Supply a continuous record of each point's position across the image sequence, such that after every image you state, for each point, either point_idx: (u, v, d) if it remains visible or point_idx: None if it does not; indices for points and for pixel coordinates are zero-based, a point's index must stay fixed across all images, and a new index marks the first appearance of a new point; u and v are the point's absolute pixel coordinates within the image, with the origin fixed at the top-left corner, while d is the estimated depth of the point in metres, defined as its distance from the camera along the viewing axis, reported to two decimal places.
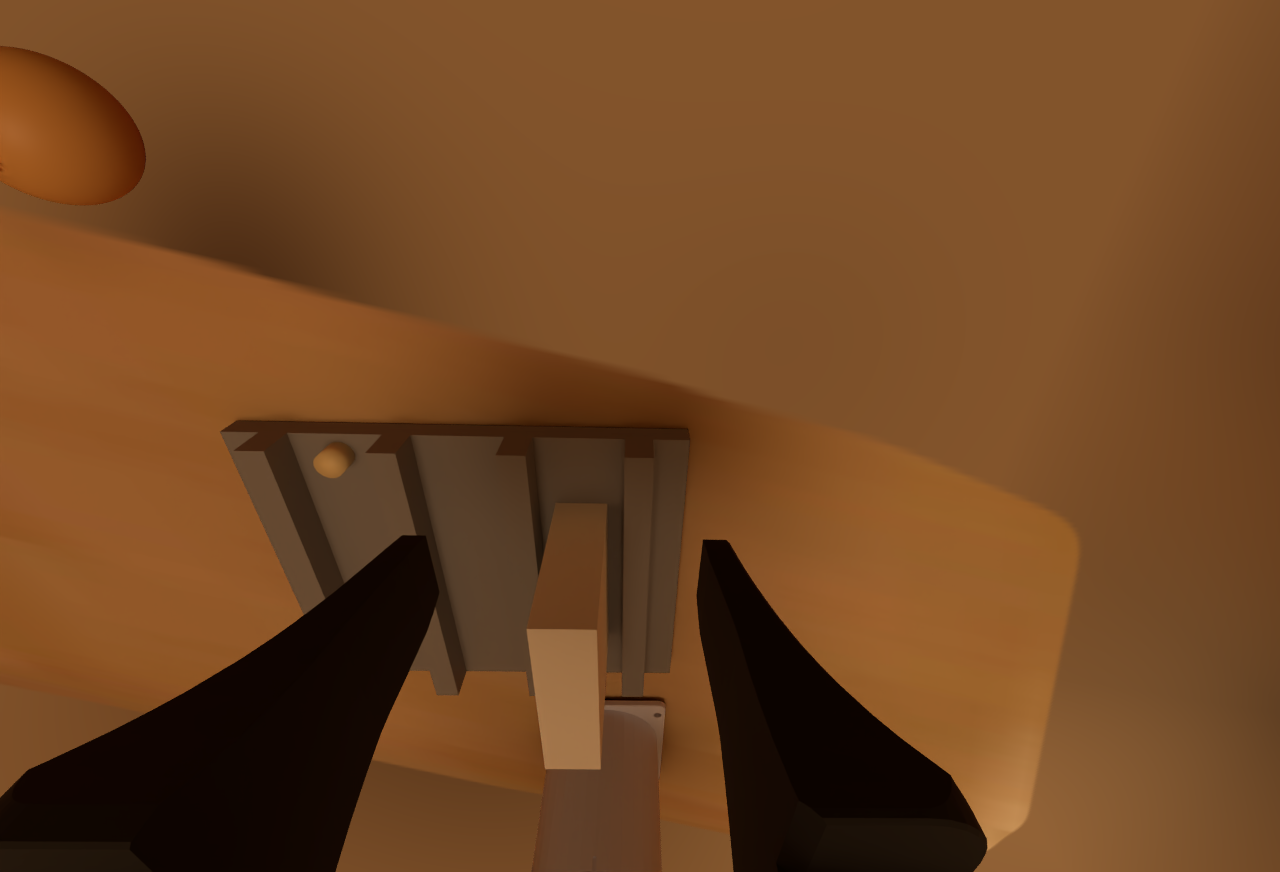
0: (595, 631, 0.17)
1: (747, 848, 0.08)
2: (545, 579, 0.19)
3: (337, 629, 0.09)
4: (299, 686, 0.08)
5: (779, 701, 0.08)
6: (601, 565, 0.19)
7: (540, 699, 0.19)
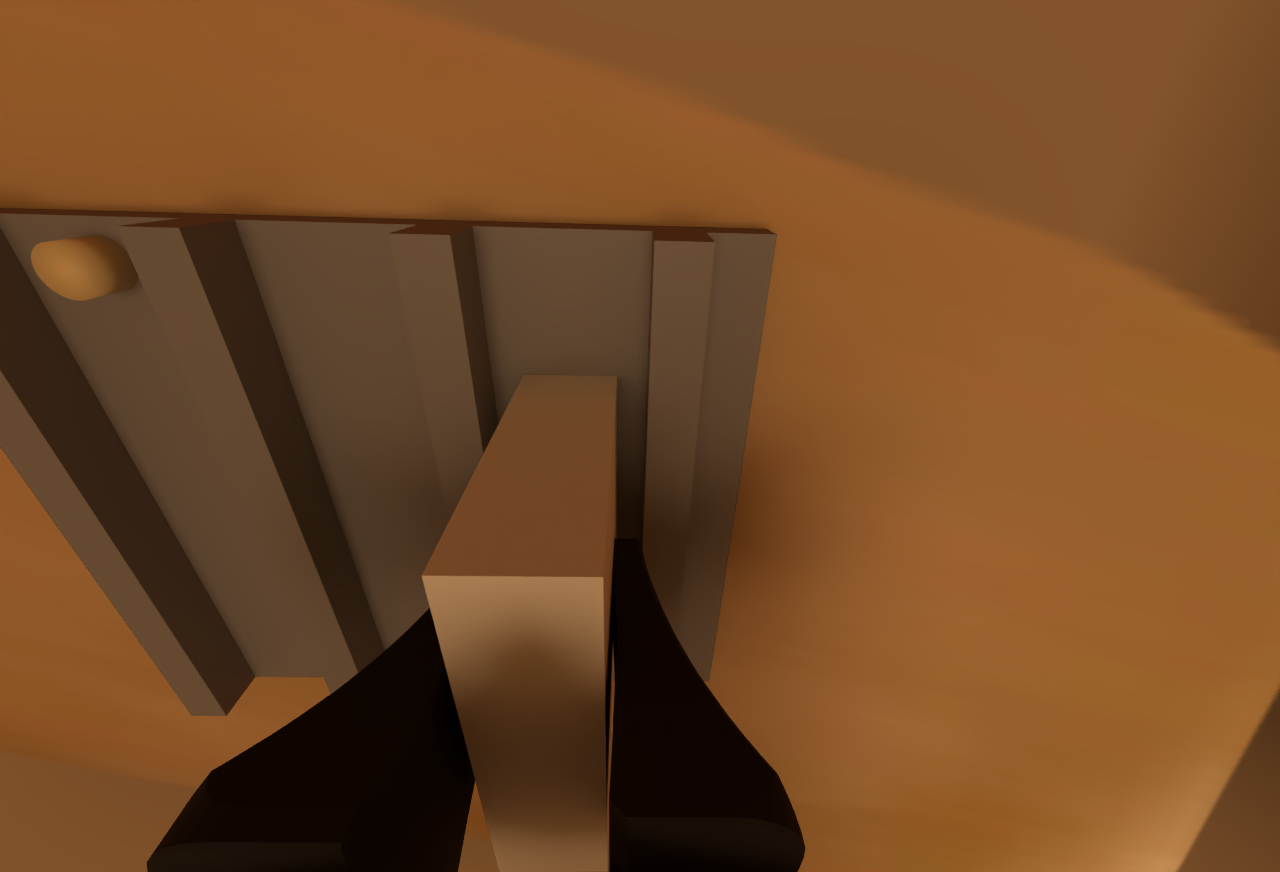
0: (599, 581, 0.07)
1: None
2: (487, 479, 0.08)
3: None
4: (437, 688, 0.08)
5: (635, 700, 0.08)
6: (610, 458, 0.09)
7: (476, 745, 0.08)
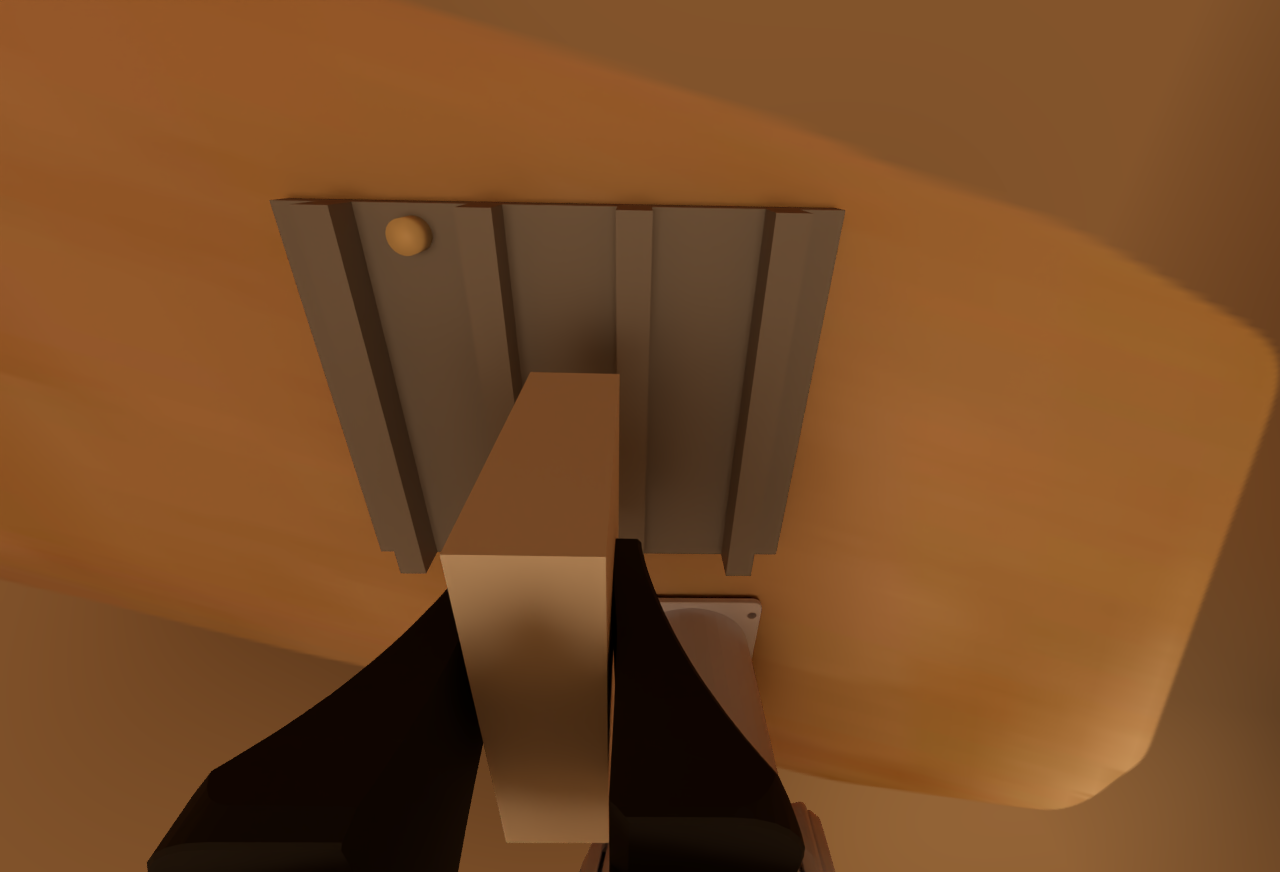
0: (602, 561, 0.07)
1: None
2: (497, 469, 0.09)
3: None
4: (438, 687, 0.08)
5: (635, 700, 0.08)
6: (612, 450, 0.10)
7: (487, 717, 0.09)
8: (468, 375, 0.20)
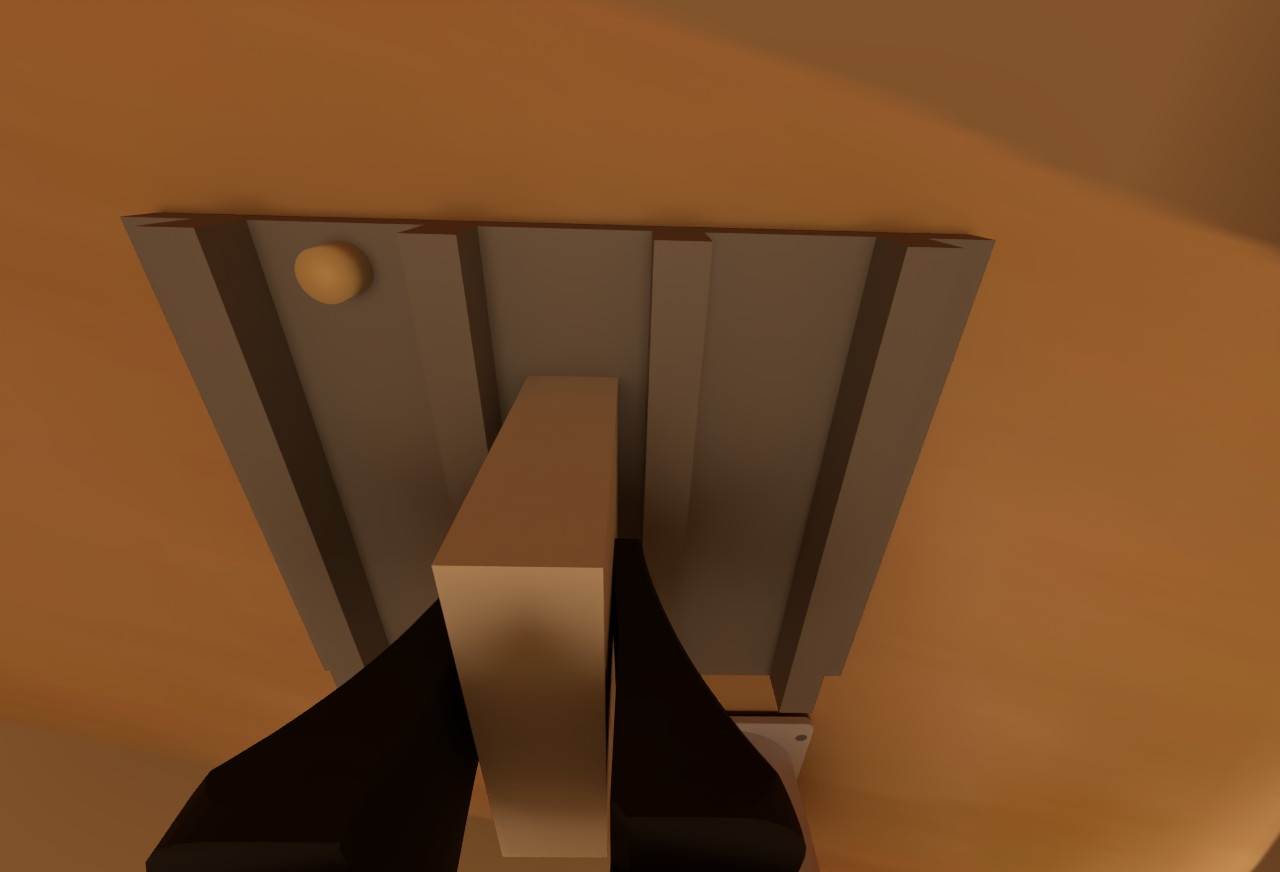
0: (599, 572, 0.07)
1: None
2: (493, 475, 0.09)
3: None
4: (437, 687, 0.08)
5: (636, 700, 0.08)
6: (610, 456, 0.10)
7: (481, 730, 0.09)
8: (433, 462, 0.14)
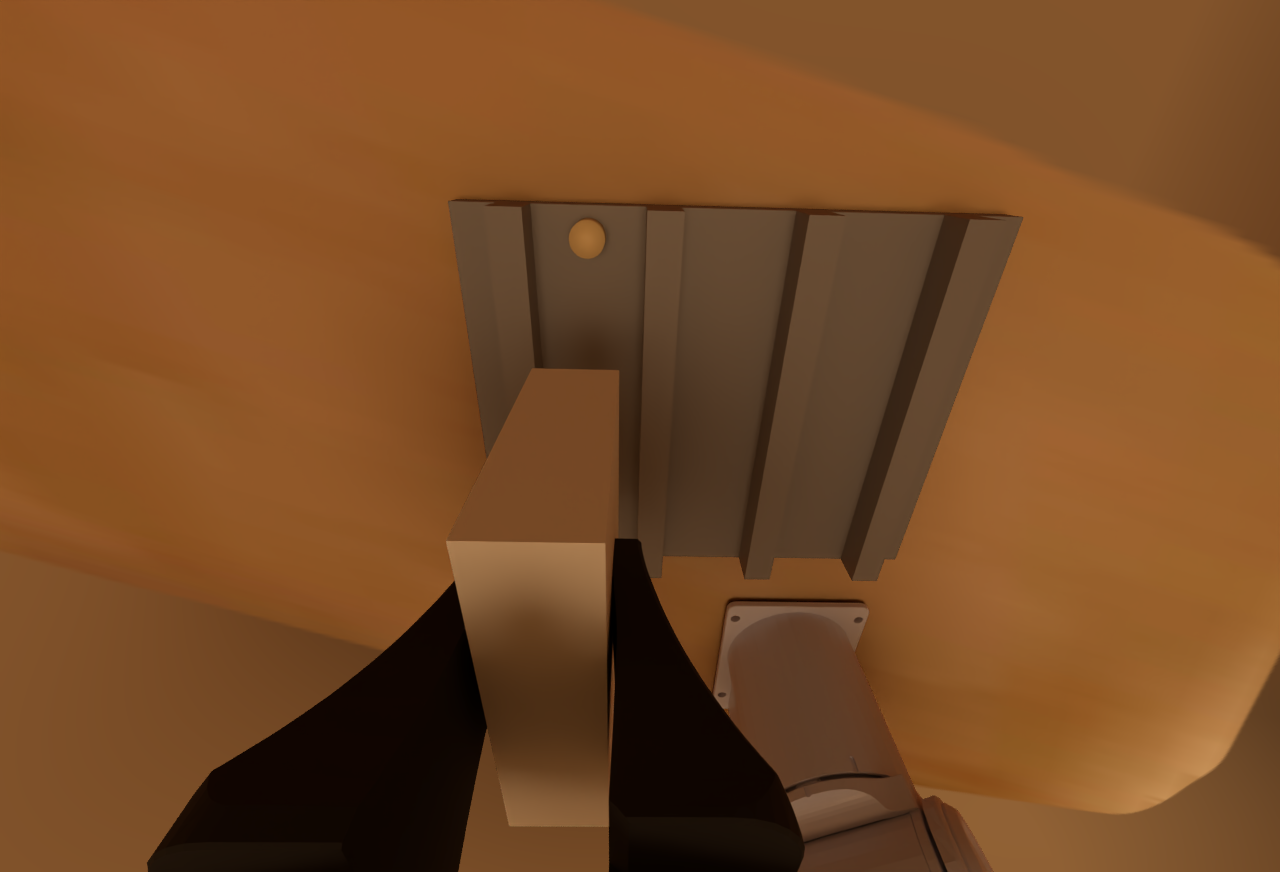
0: (602, 547, 0.07)
1: None
2: (501, 460, 0.09)
3: (458, 630, 0.09)
4: (438, 687, 0.08)
5: (634, 700, 0.08)
6: (612, 443, 0.10)
7: (490, 700, 0.09)
8: None
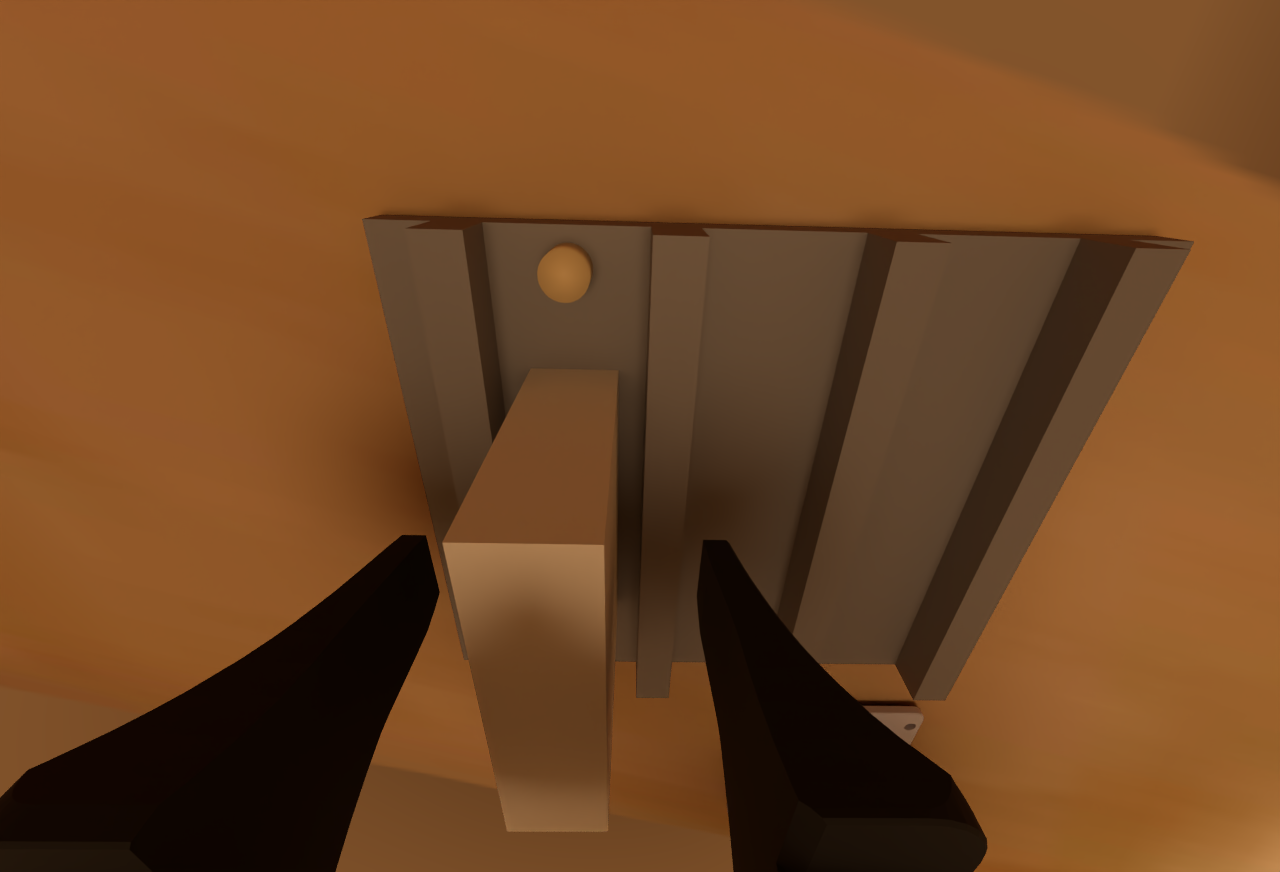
0: (600, 549, 0.07)
1: (747, 848, 0.08)
2: (498, 461, 0.09)
3: (337, 629, 0.09)
4: (299, 686, 0.08)
5: (779, 701, 0.08)
6: (611, 443, 0.10)
7: (488, 704, 0.09)
8: None
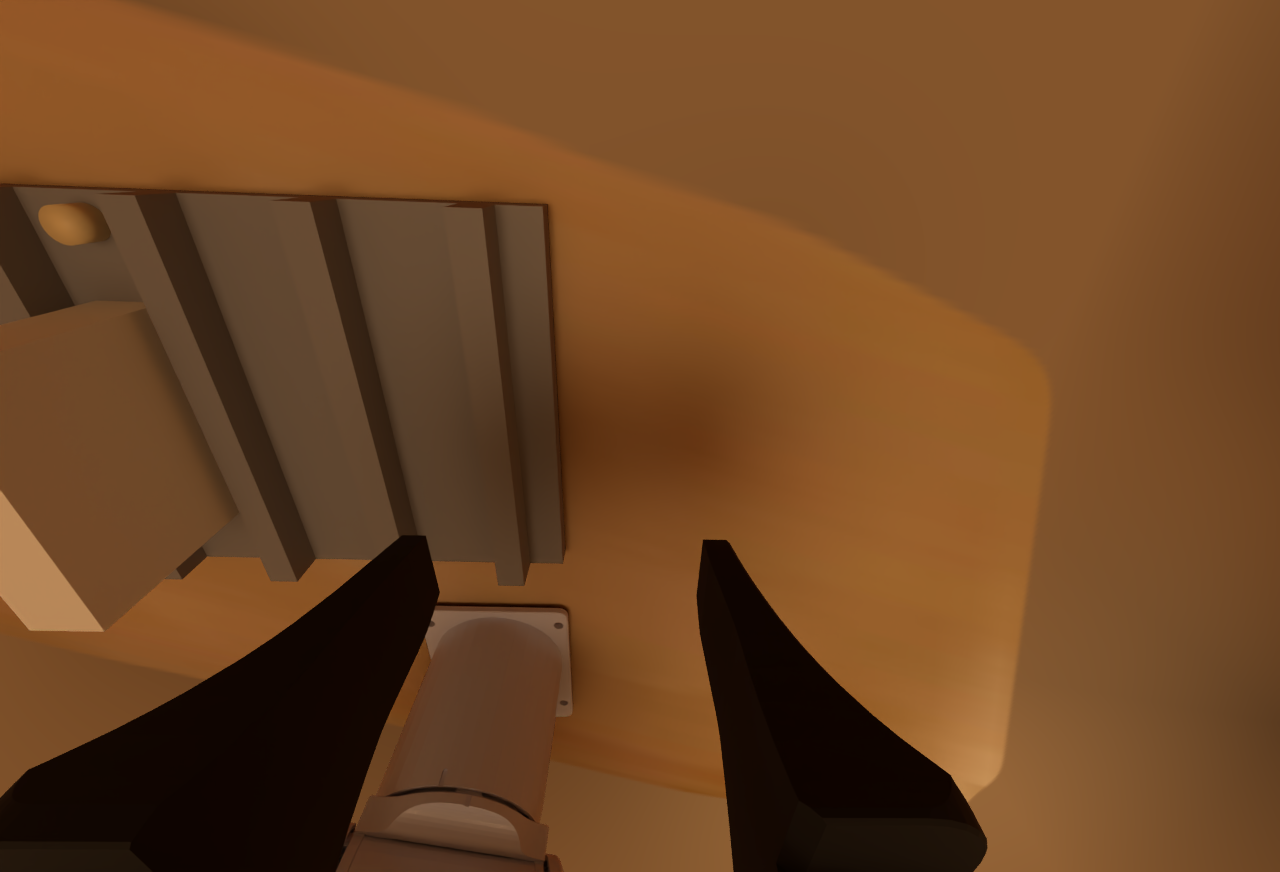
0: None
1: (747, 848, 0.08)
2: None
3: (337, 629, 0.09)
4: (299, 686, 0.08)
5: (779, 701, 0.08)
6: (51, 338, 0.14)
7: None
8: None
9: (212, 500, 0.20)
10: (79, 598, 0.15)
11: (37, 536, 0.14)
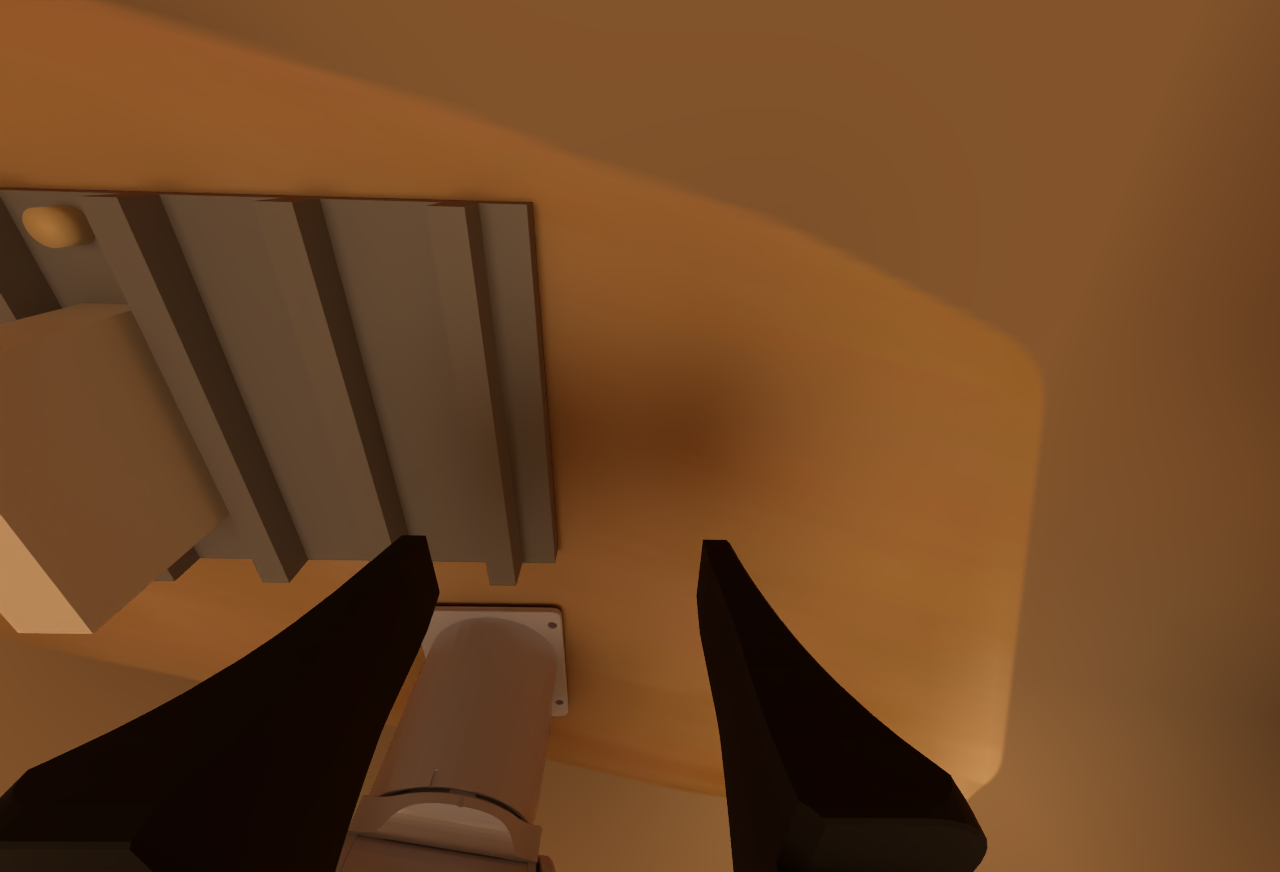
0: None
1: (747, 848, 0.08)
2: None
3: (337, 629, 0.09)
4: (299, 686, 0.08)
5: (779, 701, 0.08)
6: (34, 340, 0.14)
7: None
8: None
9: (202, 502, 0.20)
10: (66, 600, 0.15)
11: (22, 539, 0.14)
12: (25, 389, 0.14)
